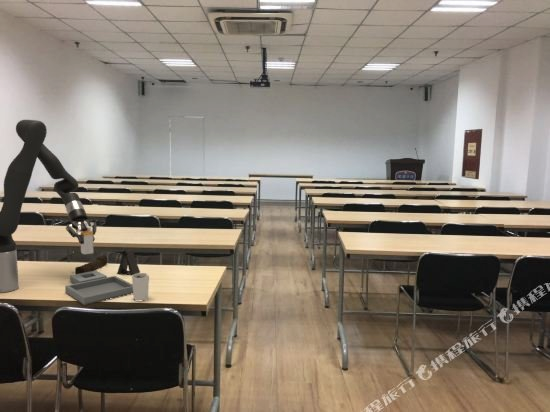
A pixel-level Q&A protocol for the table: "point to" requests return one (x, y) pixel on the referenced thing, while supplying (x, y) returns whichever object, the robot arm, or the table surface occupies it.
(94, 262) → the hand tool
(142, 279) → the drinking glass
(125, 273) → the black a-frame stand
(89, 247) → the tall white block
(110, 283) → the tray
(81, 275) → the socket block
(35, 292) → the table surface
